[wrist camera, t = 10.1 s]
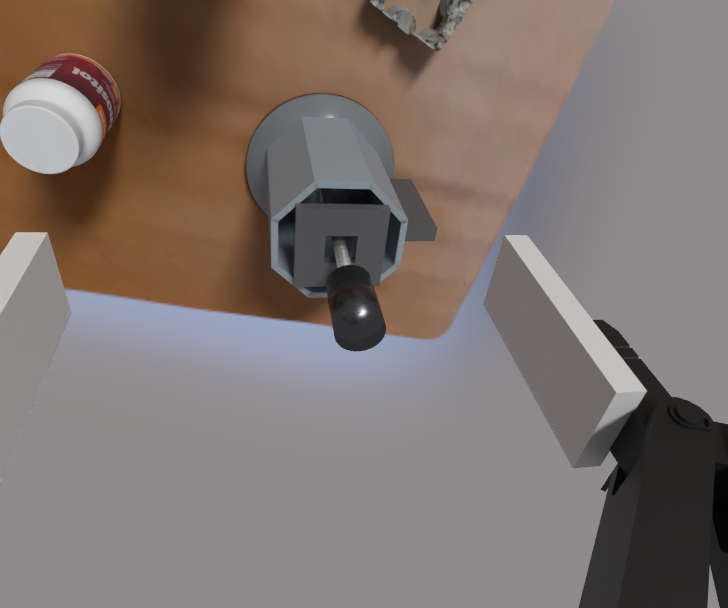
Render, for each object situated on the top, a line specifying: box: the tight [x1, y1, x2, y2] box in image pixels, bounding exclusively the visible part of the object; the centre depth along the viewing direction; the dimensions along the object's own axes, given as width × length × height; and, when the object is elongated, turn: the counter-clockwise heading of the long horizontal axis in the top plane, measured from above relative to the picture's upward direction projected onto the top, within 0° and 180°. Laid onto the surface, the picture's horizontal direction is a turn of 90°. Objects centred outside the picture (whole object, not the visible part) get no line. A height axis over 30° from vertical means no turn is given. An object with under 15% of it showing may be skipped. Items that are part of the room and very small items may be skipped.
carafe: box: [267, 117, 437, 298], centre depth 45 cm, size 13×10×14 cm
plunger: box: [290, 188, 386, 351], centre depth 40 cm, size 8×8×21 cm
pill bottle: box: [0, 53, 121, 174], centre depth 39 cm, size 6×6×11 cm
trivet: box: [246, 93, 394, 217], centre depth 51 cm, size 14×14×1 cm
